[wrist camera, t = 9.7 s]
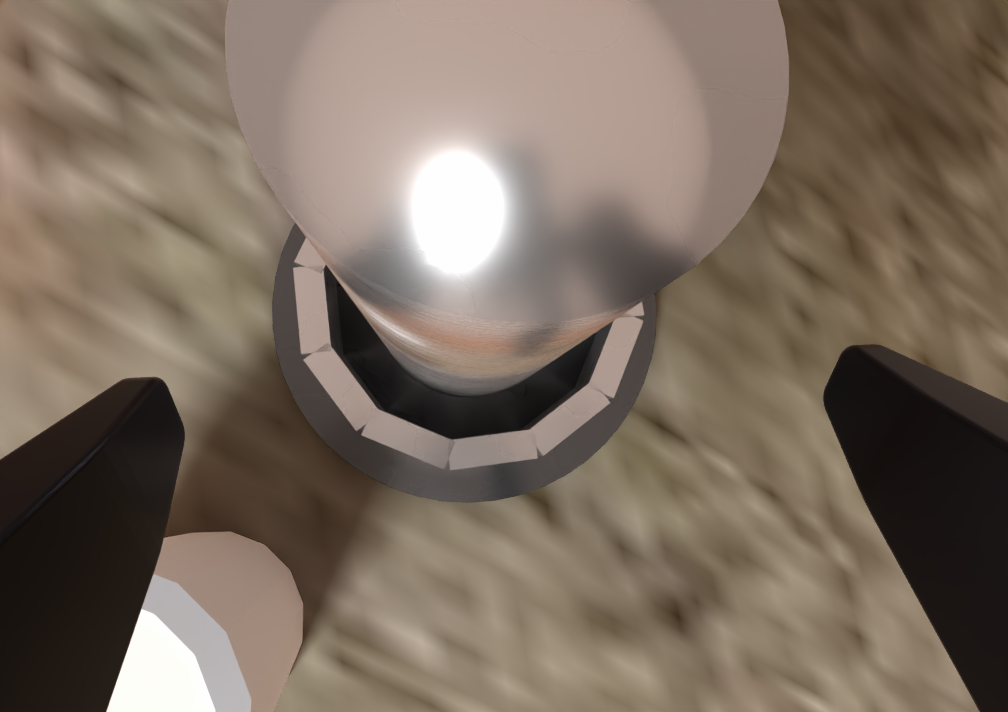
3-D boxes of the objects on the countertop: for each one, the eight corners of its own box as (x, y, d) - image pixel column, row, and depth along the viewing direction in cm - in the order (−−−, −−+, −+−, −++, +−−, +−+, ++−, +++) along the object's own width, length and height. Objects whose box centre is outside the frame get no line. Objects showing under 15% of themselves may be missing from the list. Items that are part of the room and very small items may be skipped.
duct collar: (716, 349, 20) (762, 336, 17) (430, 578, 19) (427, 606, 16) (502, 75, 21) (512, 17, 18) (205, 273, 19) (160, 244, 16)
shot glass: (34, 668, 17) (-240, 827, 10) (182, 465, 18) (23, 486, 11) (234, 797, 17) (93, 1039, 10) (370, 587, 18) (324, 682, 12)
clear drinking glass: (593, 326, 19) (894, 112, 6) (452, 434, 18) (462, 443, 5) (487, 188, 19) (566, -293, 6) (342, 289, 18) (105, -33, 6)
